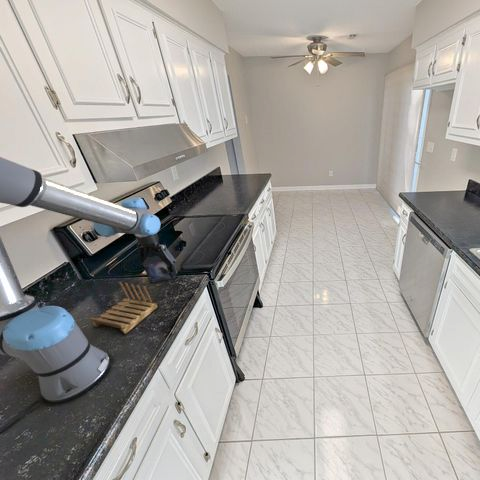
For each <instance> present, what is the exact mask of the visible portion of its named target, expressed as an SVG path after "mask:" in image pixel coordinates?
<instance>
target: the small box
mask: <svg viewBox="0 0 480 480" xmlns="http://www.w3.org/2000/svg"><path fill="white" fill-rule="evenodd" d="M167 266H168V265H167V264H166V263H165V262H164V261H163V260H162V259H161V258H160V257H159V256H156V255H155V256H150V257H148V258H147V259H145V261H144V263H143V262H142V268H143V269H144V272H145V274H146V276H147V278H148V280H149V282H150V284H154V283H159V282H165V281H171V280H175V279H176V277H177V276H176V277H174V278H173V279H172V278H171V276H170V274H169V271H168V269H167ZM174 267H175V269H176V270H175V271H176V273H177V274H178V272H179V271H178V269H177V266H176V264H174Z"/></svg>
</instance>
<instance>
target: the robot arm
mask: <svg viewBox="0 0 480 480" xmlns="http://www.w3.org/2000/svg"><path fill="white" fill-rule="evenodd" d="M120 203H121V205H120V204H117V203H114V202H111V201H108V200H106V199H103V198H100V197H98V196H95V195H91V194H90V193H89V194H88V193H86V192H83V191H82V190H78V189H76V188H73V187H71V186H68V185H64V184H62V183H59V182H56V181H53V180H50V179H49V178H48V179H47V178H45V177H44V175H43V174H42V173H41V171H38V170H36V169H32V168H29V167H27V166H25V165H23V164H19V163H17V162H14V161H12V160H9V159H7V158H5V157H2V156H0V204H6V205H10V206H15V207H19V208H27V207H29V206H31V207H35V208H38V209H41V210H42V209H43V210H46V211H49V212H54V213H57V214H61V215H64V216H69V217H73V218H76V219H80V220H83V221H88V222H91V223H93V224H92V226H93V228H94V230H95V232H96V233H97V234H98V235H100V236H102V237H103V238H111V237H112V236H115V235H117V234H127V235H128V234H129V235H134V236H135V238H136V240H137V242H138V243H136V247H137V252H138V261H139V262H140V263H141V262H142V264H143V263H144V261H145V259H147V258H148V257H151V255H152V254H153V255H155V256H159V257H160V258H161V259H162V260H163V261H164V262H165V263H166V264H167V265H168V266H167V269H168V271H169V274H170V276H171V278H172V279H171V280H174V279H173V278H174V277H177V276H178V273H176V271H175V270H176V269H177V268H176V269H175V267H174V264H175V265H176V264H177V260H176V258H175V257H174V256H173V255H172V253H171V252H170V251H169V249H168V248H167V246H166V243H163V244H160V243H159V240H160V238H159V235H158V232H159V231H160V230H161V226H162V225H161V220H160V218H159V217H158V216H157V215H155V214H151V213H150V212H149V209H148V207H147V205H146V203H145V201H144V199H143V198H141V197H129V198H126V199H124V200H122V201H121V202H120ZM20 283H21V282H20V280H19V279H18V276H17V273H16V271H15V269H14V267H13V264H12V261H11V259H10V256H9V254H8V251H7V249H6V247H5V244H4V241H3V239H2V237H1V236H0V355H2V356H3V355H4V356H7V357H11V358H15V359H20V360H22V361H23V362H24V363H26V365H27V366H28V367H29V368H30V369H31V370H32V371H33V372H34V373H35V375H36V376H37V377H38V384H39V389H40V390H39V391H40V394H41V396H40V397H39V398H37V399H36V400H35V401H33V402H32V403H30V404H29V405H28V406H26V408H24V409H23V410H22V411H20V412H19V413H18V414H17V415H16V416H14V417H12V419H11V420H10V421H8V422H7V423H5V424H4V425H3V426H1V427H0V433H2V432H3V431H4V430H6V429H7V428H9V427H10V426H11V425H12V424H14V423H15V422H16V421H17V420H18V419H20V418H21V417H22V416H23V415H24V414H26V413H27V412H28V411H29V410H30V409H32V408H33V407H35V406H36V405H37V404H39V402H41V401H42V400H43V399H44V400H45V401H46V402H48V403H51V404H60V403H64V402H67V401H70V400H73V399H75V398H77V397H80V396H81V395H82V394H84V393H86V392H88V391H89V390H90V389H92V388H93V387H94V386H96V385H97V384H98V383H99V382H100V381H101V380H102V379H103V378H104V377H105V375H106V374H107V373H108V371H109V369H110V367H111V358H110V356H109V355H108V353H107V352H105V351H104V350H102V349H100V348H98V347H96V346H94V345H93V344H91V343H90V341H89V340H88V339H87V337H86V335H85V334H84V333H83V331H82V329H80V327H79V325H78V324H77V322H76V321H75V319H74V317H73V316H72V314H71V313H69V312H68V311H67V309H65V308H64V307H61V306H58V305H45V306H42V307H41V308H40V307H39V305H38V303H37V301H36V298H35V297H34V296H32V295H29V294H25V293H24V290H23V288H22V286H21V284H20Z"/></svg>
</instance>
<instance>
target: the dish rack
mask: <svg viewBox="0 0 480 480" xmlns="http://www.w3.org/2000/svg"><path fill="white" fill-rule="evenodd" d="M118 284H119V287H120V288H121V290H122V292H123V294H124V295H125V297H124V298H122V299H121V301H119V302H117V303H116V305H113V306H111V308H110V309H107V310H106V311H105V312H104V313H102V314H100V315H99V317H96V318H95V317H90V318H89V320H90V321H91V322H92V325H93V326H94V327H95V328H98V327H100V326H102V325H104V326H108V327H112V328H117V329H120V331H121V333H122V335H123V334H124V335H126V334H127V333H128V332H130V331H131V330H132V329H134V327H136V326H137V325H138V324H139V323H141V322H142V321H143V320H144V319H146V317H148V316H149V315H150V314H151V313H152V312H154V311H155V310H156V309H157V308H158V305H157V303H156V302H153V300H152V298H151V296H150V294H149V291H148V290H147V287H146V286H145V285H142V289H143V291H144V293H145V295H144V293H143V291H142V289H141V286H140V285H139V284H136V287H135V285H134V284H133V283H130V286H129V284H128V282H124V284H123V282H122V281H118ZM125 287H126V289H125ZM130 287H131V288H130ZM136 288H137V290H138V291H137V290H136ZM131 289H132V290H131ZM132 291H133V292H132ZM138 292H139V294H140V295H139V294H138ZM128 293H129V294H128ZM133 293H134V294H133ZM129 295H130V296H129ZM134 295H135V296H134ZM140 296H141V297H140ZM145 296H146V297H145ZM130 297H131V298H130ZM135 297H136V298H135ZM141 298H142V300H141ZM147 299H148V301H149V302H148V301H147Z"/></svg>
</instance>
